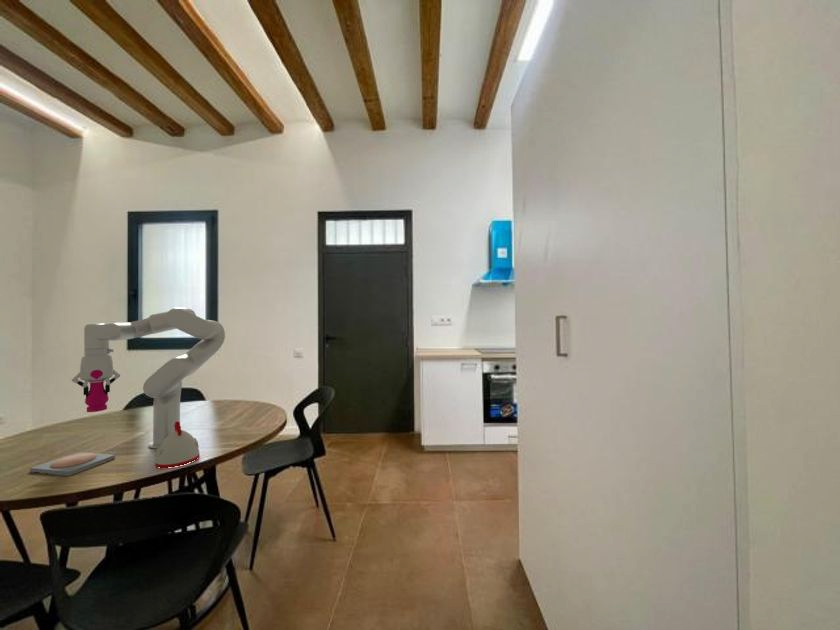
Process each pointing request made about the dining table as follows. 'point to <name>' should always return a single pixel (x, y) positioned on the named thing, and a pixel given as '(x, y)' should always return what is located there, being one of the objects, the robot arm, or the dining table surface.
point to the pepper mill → (96, 393)
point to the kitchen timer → (177, 449)
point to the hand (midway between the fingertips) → (97, 394)
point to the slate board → (72, 463)
